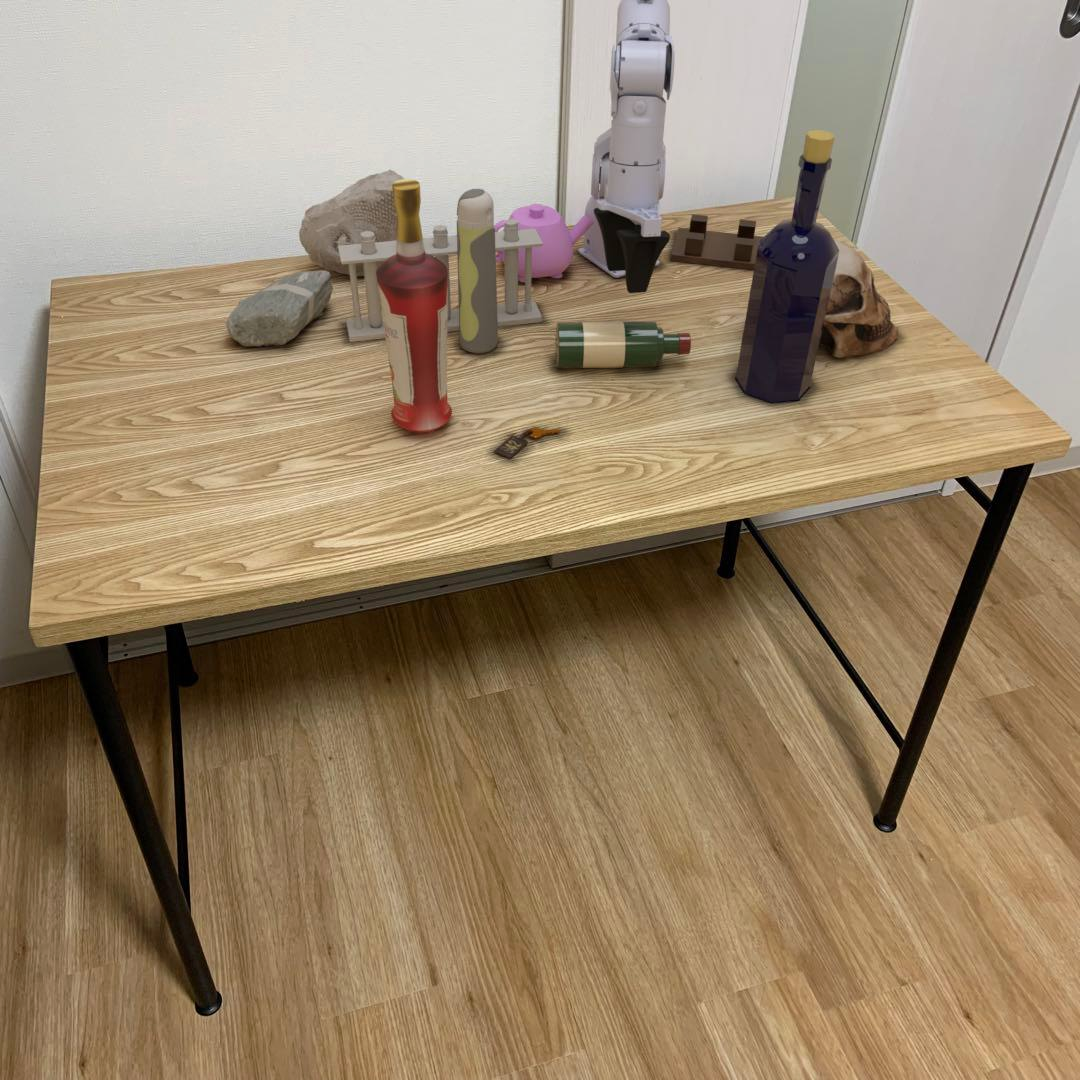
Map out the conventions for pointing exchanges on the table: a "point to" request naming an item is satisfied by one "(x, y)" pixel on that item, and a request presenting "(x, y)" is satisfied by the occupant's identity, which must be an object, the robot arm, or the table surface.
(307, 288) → the decorative stone
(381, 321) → the test tube rack
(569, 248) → the teapot
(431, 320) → the liquor
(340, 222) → the fossil
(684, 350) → the wine bottle
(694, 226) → the wine rack
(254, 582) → the table surface
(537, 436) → the key tag
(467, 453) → the table surface
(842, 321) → the skull
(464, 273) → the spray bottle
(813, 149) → the bottle
